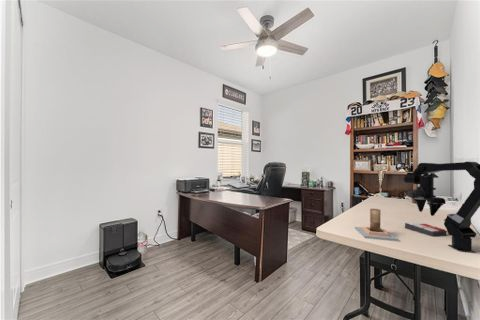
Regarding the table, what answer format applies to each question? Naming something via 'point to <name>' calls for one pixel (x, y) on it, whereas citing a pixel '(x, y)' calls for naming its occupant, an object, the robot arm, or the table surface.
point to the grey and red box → (425, 229)
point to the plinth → (376, 234)
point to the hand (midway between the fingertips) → (426, 213)
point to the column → (375, 220)
